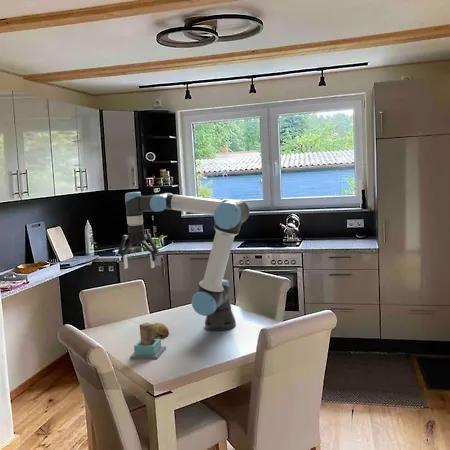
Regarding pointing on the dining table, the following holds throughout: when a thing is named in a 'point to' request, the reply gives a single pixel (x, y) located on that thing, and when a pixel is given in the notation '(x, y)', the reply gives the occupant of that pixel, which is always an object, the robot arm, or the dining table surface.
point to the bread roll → (160, 330)
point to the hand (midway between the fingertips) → (139, 268)
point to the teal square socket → (148, 350)
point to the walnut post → (146, 334)
